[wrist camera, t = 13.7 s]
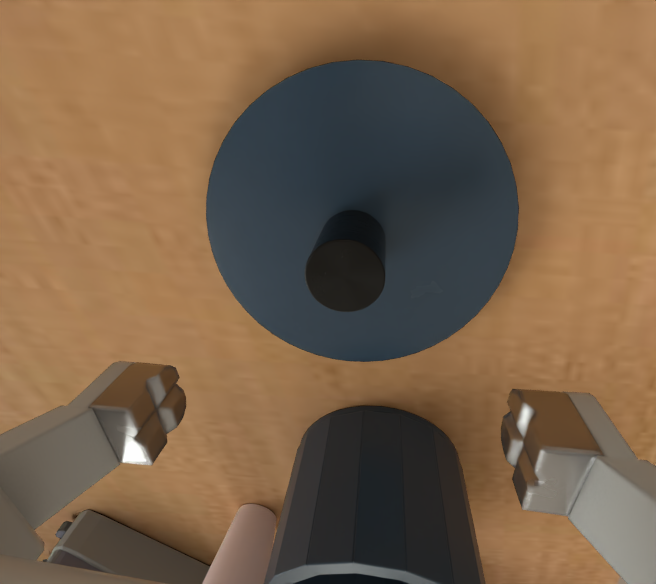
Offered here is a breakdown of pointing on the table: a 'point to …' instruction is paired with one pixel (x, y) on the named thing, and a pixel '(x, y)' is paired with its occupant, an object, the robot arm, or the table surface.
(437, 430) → the canister
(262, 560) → the smoothie
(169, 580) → the instant camera
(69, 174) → the table surface
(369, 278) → the lid
